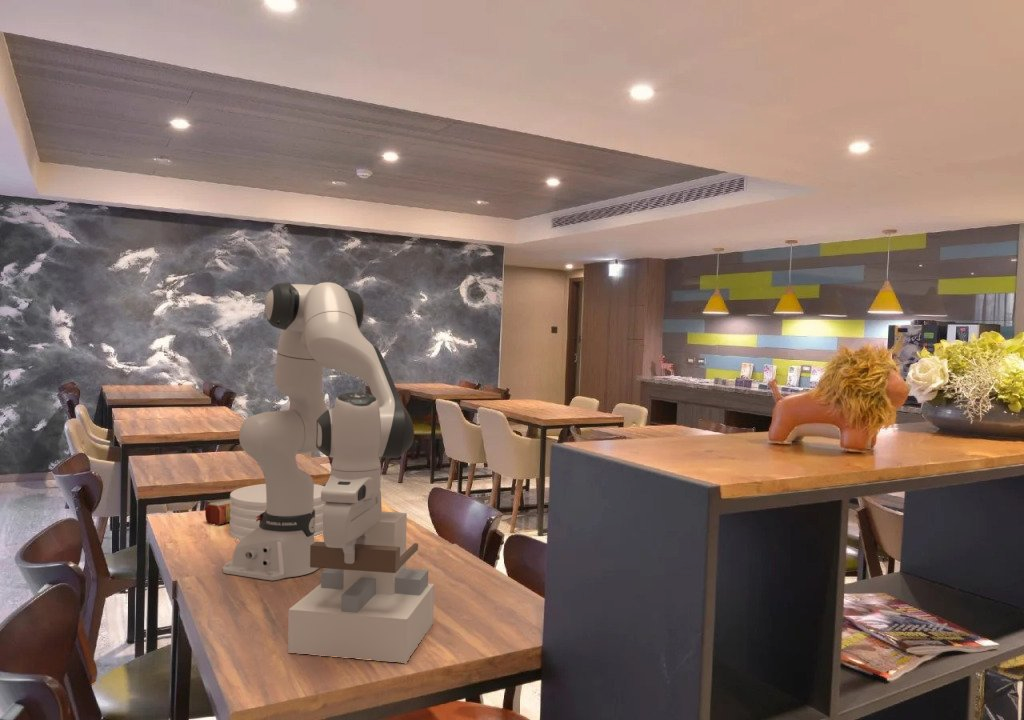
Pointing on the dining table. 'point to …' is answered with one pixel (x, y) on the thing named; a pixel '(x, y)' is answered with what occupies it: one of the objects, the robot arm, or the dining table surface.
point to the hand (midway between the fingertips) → (354, 559)
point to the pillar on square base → (366, 607)
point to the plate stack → (261, 509)
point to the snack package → (218, 512)
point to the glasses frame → (360, 557)
